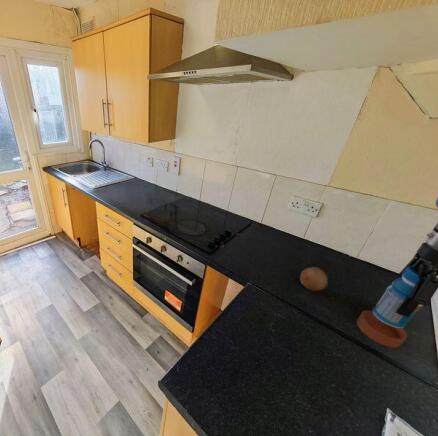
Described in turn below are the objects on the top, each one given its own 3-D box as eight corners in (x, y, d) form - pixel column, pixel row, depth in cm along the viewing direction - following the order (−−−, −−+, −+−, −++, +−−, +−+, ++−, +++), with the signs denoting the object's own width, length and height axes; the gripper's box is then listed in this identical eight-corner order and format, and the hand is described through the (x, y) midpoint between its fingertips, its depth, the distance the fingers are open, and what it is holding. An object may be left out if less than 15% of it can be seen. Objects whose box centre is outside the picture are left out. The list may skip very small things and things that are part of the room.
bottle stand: (395, 328, 82) (401, 321, 80) (405, 354, 73) (412, 347, 71) (354, 312, 87) (359, 305, 86) (358, 334, 78) (364, 327, 77)
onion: (316, 299, 92) (327, 280, 88) (292, 284, 100) (300, 266, 95) (326, 290, 97) (336, 272, 93) (302, 277, 105) (310, 259, 100)
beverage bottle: (373, 320, 76) (408, 274, 67) (369, 304, 82) (400, 260, 73) (408, 334, 72) (450, 287, 63) (400, 316, 78) (437, 271, 69)
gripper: (412, 229, 74) (376, 282, 84) (438, 260, 58) (390, 321, 68) (446, 237, 70) (404, 291, 80) (484, 273, 54) (425, 335, 64)
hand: (398, 305), depth 74 cm, fingers closed on beverage bottle, 8 cm apart
